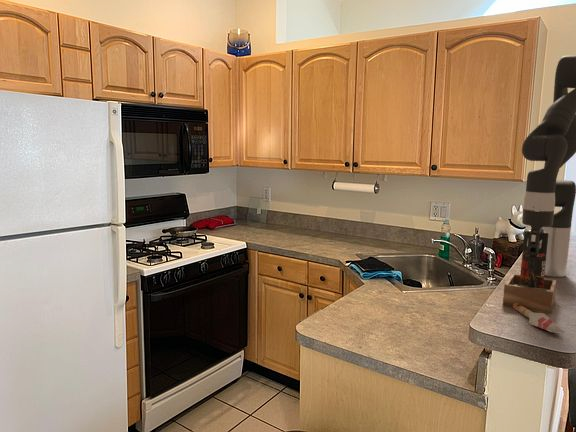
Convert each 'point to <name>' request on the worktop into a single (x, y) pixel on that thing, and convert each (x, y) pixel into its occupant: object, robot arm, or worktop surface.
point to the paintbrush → (538, 319)
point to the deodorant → (537, 276)
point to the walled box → (530, 295)
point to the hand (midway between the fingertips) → (532, 267)
